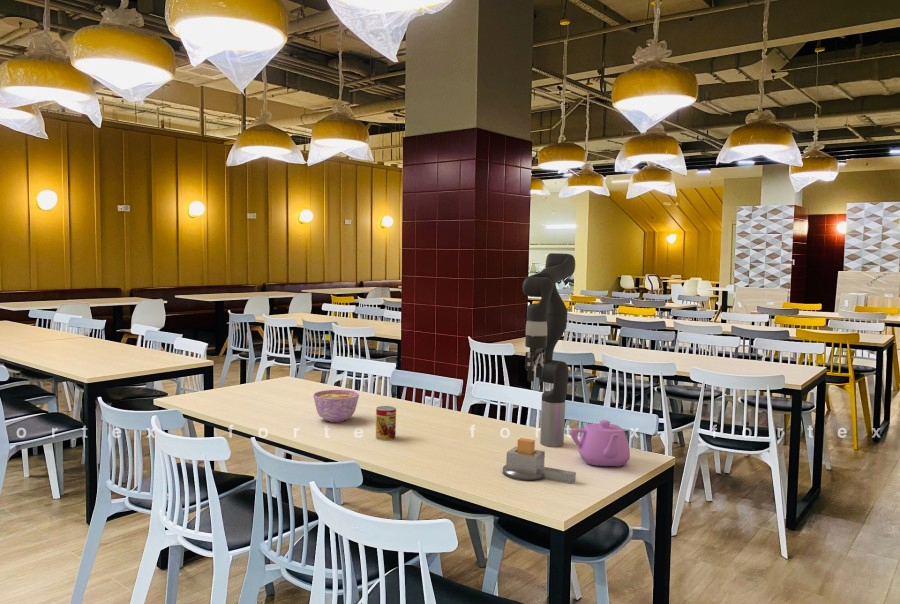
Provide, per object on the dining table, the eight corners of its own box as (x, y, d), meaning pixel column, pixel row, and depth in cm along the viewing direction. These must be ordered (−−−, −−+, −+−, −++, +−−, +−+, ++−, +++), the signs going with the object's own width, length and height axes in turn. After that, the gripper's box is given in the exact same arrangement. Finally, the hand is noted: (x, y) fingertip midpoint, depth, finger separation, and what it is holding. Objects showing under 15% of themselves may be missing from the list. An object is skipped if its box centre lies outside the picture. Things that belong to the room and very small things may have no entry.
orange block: (519, 466, 219) (520, 437, 219) (533, 469, 217) (534, 440, 216) (516, 469, 217) (517, 439, 216) (530, 471, 214) (531, 442, 214)
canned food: (392, 441, 252) (392, 410, 252) (373, 439, 254) (373, 409, 253) (397, 435, 260) (398, 406, 259) (379, 434, 262) (379, 405, 261)
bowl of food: (367, 418, 287) (368, 393, 287) (340, 428, 270) (340, 400, 269) (332, 412, 297) (332, 387, 296) (303, 421, 279) (303, 395, 278)
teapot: (564, 454, 240) (565, 415, 239) (619, 455, 241) (621, 415, 240) (578, 474, 217) (580, 430, 216) (640, 475, 218) (642, 431, 217)
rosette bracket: (512, 464, 227) (513, 443, 226) (580, 476, 216) (581, 454, 215) (495, 475, 214) (496, 453, 213) (567, 489, 202) (568, 466, 202)
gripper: (533, 331, 234) (531, 375, 235) (518, 334, 221) (517, 381, 222) (553, 332, 230) (551, 377, 231) (539, 336, 218) (538, 383, 219)
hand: (534, 379), depth 227 cm, fingers open, 8 cm apart
